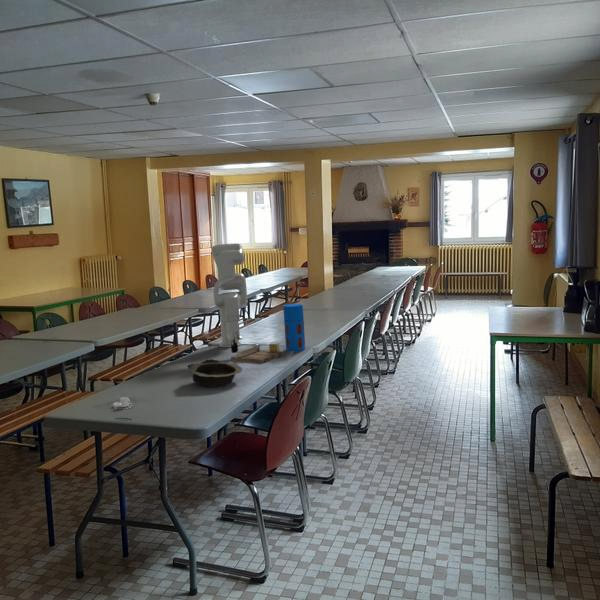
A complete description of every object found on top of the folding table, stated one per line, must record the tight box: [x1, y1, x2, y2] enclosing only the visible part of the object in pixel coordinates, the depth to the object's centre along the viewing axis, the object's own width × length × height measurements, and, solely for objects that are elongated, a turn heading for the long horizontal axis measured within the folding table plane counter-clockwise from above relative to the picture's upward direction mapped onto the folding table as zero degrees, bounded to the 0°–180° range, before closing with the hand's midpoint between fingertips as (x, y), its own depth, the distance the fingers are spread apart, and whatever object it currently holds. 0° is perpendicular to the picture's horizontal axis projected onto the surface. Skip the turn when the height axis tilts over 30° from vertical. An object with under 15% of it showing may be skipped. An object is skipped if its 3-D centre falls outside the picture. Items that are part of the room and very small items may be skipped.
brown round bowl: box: [187, 359, 243, 388], centre depth 267 cm, size 25×25×9 cm
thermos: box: [283, 303, 306, 353], centre depth 328 cm, size 11×11×25 cm
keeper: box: [268, 342, 280, 352], centre depth 318 cm, size 2×5×4 cm, turn 59°
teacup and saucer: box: [112, 396, 131, 408], centre depth 239 cm, size 9×8×4 cm
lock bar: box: [236, 343, 261, 357], centre depth 315 cm, size 17×4×4 cm, turn 150°
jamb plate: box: [230, 349, 285, 365], centre depth 314 cm, size 20×20×2 cm
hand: (234, 352), depth 317 cm, fingers closed
